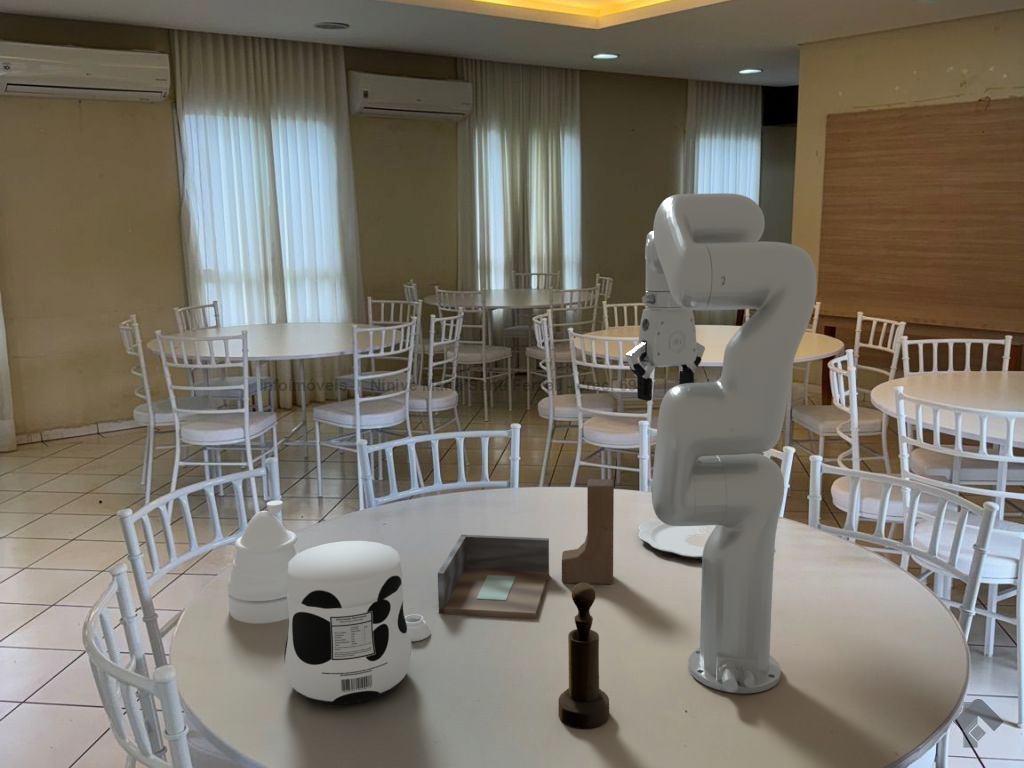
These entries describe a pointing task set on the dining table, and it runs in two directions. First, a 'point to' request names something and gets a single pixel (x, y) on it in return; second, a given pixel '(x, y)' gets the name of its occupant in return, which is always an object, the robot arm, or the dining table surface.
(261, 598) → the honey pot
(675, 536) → the plate
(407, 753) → the dining table surface
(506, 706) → the dining table surface
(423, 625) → the lidless jar
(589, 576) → the wooden block
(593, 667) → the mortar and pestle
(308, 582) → the milk container
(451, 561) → the tray
